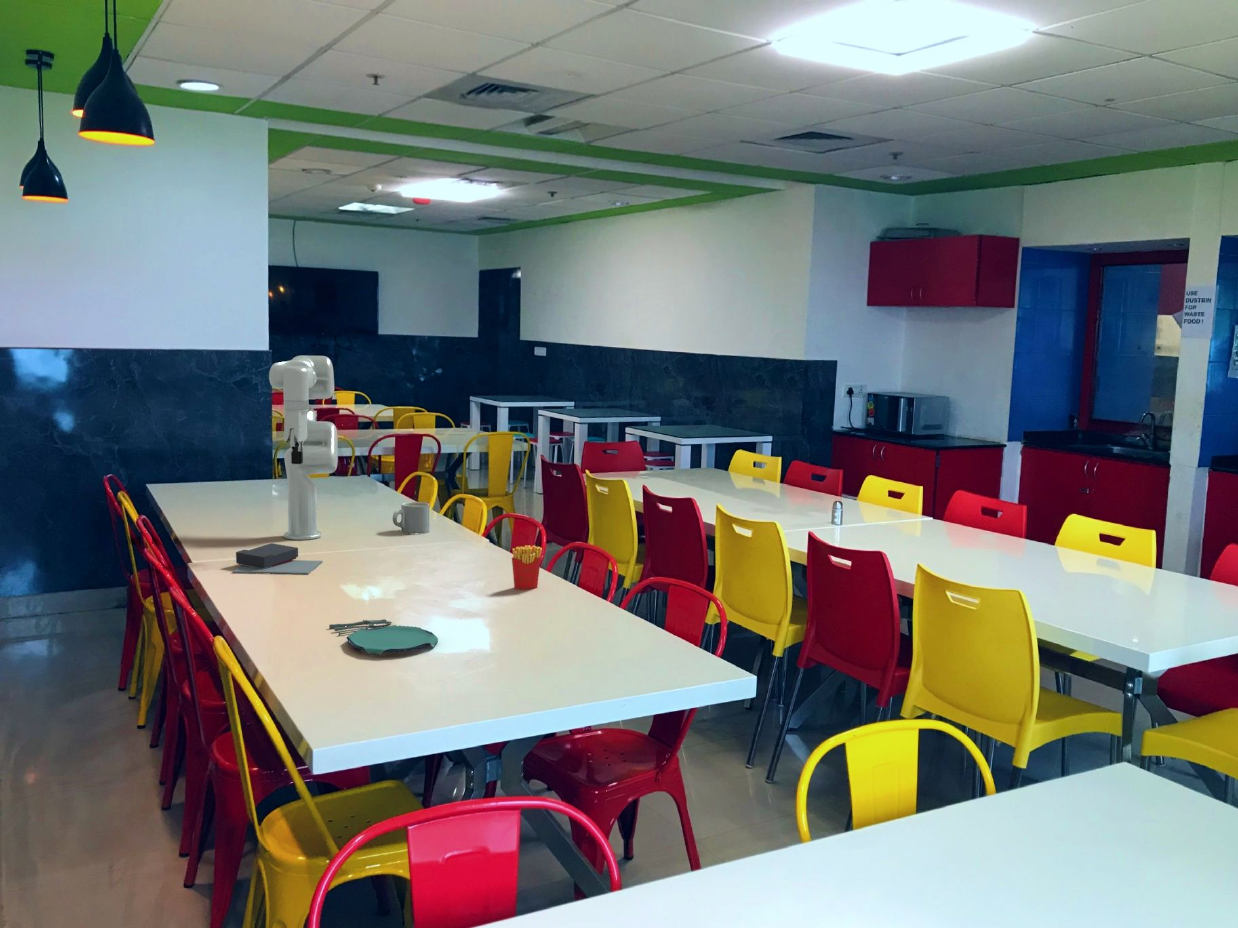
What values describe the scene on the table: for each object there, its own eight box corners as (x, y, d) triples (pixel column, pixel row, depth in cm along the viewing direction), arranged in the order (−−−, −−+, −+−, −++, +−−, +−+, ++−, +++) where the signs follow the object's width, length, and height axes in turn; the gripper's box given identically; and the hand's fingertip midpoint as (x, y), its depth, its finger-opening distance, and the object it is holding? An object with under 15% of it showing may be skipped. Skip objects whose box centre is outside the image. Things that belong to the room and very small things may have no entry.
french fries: (513, 590, 286) (514, 548, 284) (510, 586, 289) (510, 545, 288) (542, 588, 289) (543, 547, 287) (538, 584, 292) (539, 544, 291)
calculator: (272, 554, 318) (235, 565, 305) (271, 541, 317) (235, 552, 304) (299, 559, 314) (263, 571, 300) (298, 545, 313) (262, 557, 299)
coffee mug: (426, 528, 372) (426, 501, 371) (432, 533, 363) (432, 505, 362) (389, 530, 367) (389, 502, 366) (394, 535, 358) (394, 507, 357)
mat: (251, 560, 313) (250, 559, 313) (322, 562, 313) (322, 560, 313) (232, 573, 297) (232, 571, 297) (308, 574, 298) (308, 572, 298)
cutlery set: (367, 663, 220) (367, 653, 220) (320, 631, 244) (320, 622, 244) (450, 650, 231) (450, 640, 231) (397, 620, 256) (397, 611, 255)
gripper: (291, 404, 327) (292, 460, 329) (277, 407, 312) (278, 466, 314) (314, 404, 327) (315, 461, 329) (301, 408, 312) (302, 467, 315)
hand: (297, 463), depth 322 cm, fingers closed
